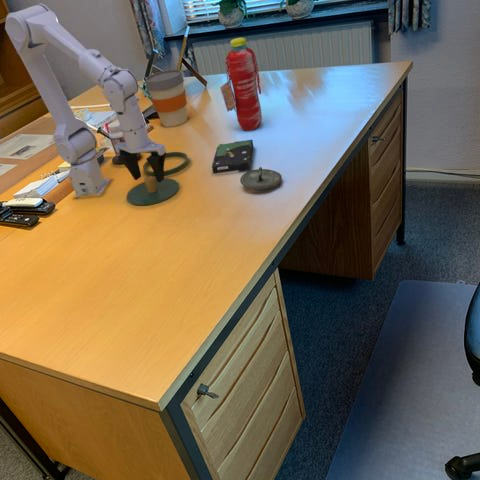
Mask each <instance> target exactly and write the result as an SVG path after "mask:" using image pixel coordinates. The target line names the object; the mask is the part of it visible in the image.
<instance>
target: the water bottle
mask: <svg viewBox="0 0 480 480" xmlns="http://www.w3.org/2000/svg"><path fill="white" fill-rule="evenodd" d="M229 45H230V48H231V49H230V50H229V52H228V53H227V55H226V57H225V59H224V60H223V62H224V67H225V73H226V80H227V81H226V82H225V83H224V84H223V85H220V91H221V94H222V98H223V101H224V104H225V108H226V111H227V112H232V111H233V110H234V112H235V113H236V120H237V123H238V124H239V126H240V128H241V129H242V131H253V130H256V129H258V128H260V126H261V124H262V120H263V115H262V114H263V113H262V108H261V103H260V102H261V101H260V98H259V95H261V94H262V89H261V85H260V74H259V68H258V61H257V57H256V54H255V52H254V51H253V49H252V48H249V46H247V39H246V38H245V37H237V38H234V39H231V40H230V42H229Z"/></svg>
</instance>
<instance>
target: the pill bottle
mask: <svg viewBox="0 0 480 480" xmlns="http://www.w3.org/2000/svg"><path fill="white" fill-rule="evenodd" d="M107 128H108V131H110V132H109V135H108V137H109V140H110V142H111V145H112V149H113V152H114V154H115V156H116V157H117V159H118V156H119V155H120V153H117V152H116V149H115V146H114V145H115V144H117V143H118V142H125V139H124V136H123V133H122V130H121V127H120V124H119V121H118V120H117V121H112V122H111V123H109V124H108V125H107Z"/></svg>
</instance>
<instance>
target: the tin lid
mask: <svg viewBox="0 0 480 480" xmlns="http://www.w3.org/2000/svg"><path fill="white" fill-rule="evenodd" d="M143 180H144V181H143V182H141V183H138V184H136V185H135V186H134V187H132V188H131V189H130V190H129V191H128V192H127V194H126V201H127V202H128V203H129V204H130V205H133V206H136V207H149V206H154V205H158V204H161V203H163V202H165V201H168V200H169V199H171V198H173V197H174V196H176V195H177V193H178V192H179V190H180V184H179V181H177V180H176V179H173V178H169V177H164V180H162V181H161V182H157V180H156V178H155V177H153V176H146V177H145V178H143Z"/></svg>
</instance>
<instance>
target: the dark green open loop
mask: <svg viewBox="0 0 480 480" xmlns="http://www.w3.org/2000/svg"><path fill="white" fill-rule="evenodd" d="M169 158H183V159H184V161H183V162H182V163H181V164H180V165H177V166H176V167H173V168H171V169H166V170H164V177H167V176H171V175H175V174H177V173H179V172H180V171H183V170H185V169H186V168H187V166H189V164H190V158H189V155H188V154H187V153H185V152H182V151H172V152H171V151H170V152H166V157H165V159H169ZM149 167H150V164H149V163H148V161H147V160H146V161H145V162H144V164H143V165H142V169H143V170H142V171H143V173H144V174H145V175H146V176H147V177H149V176H153V177H154V178H156V177H155V175H154V172H153V170H148V168H149Z"/></svg>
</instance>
